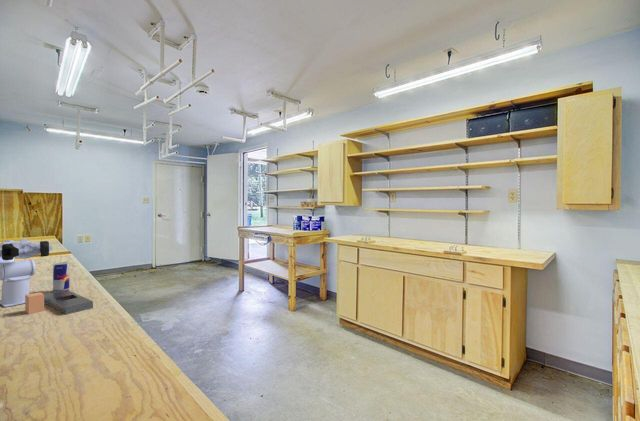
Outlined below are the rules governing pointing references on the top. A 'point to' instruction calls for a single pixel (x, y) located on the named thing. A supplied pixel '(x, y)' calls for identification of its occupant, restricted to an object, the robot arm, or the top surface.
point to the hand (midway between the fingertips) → (32, 250)
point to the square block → (34, 303)
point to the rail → (67, 301)
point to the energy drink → (60, 276)
